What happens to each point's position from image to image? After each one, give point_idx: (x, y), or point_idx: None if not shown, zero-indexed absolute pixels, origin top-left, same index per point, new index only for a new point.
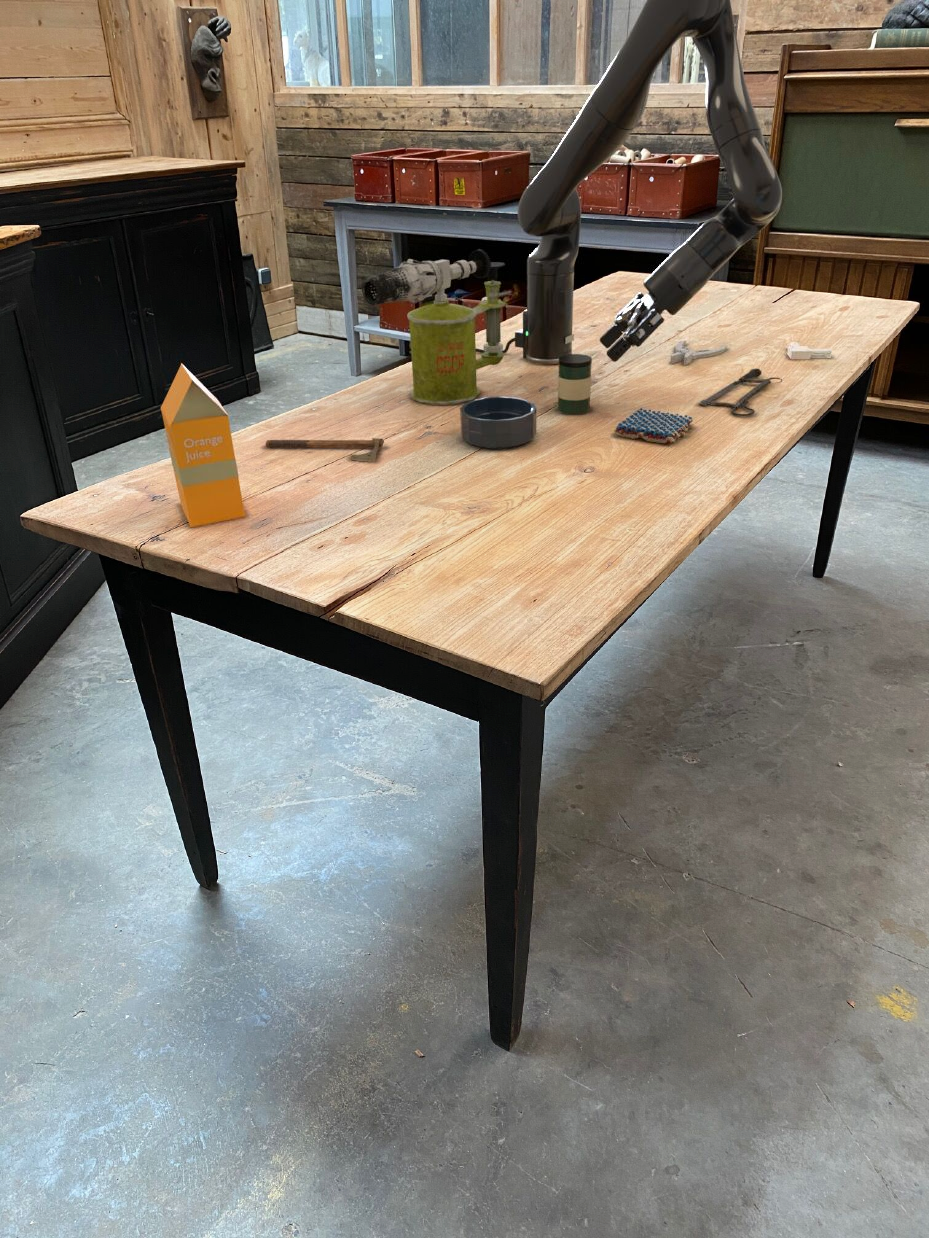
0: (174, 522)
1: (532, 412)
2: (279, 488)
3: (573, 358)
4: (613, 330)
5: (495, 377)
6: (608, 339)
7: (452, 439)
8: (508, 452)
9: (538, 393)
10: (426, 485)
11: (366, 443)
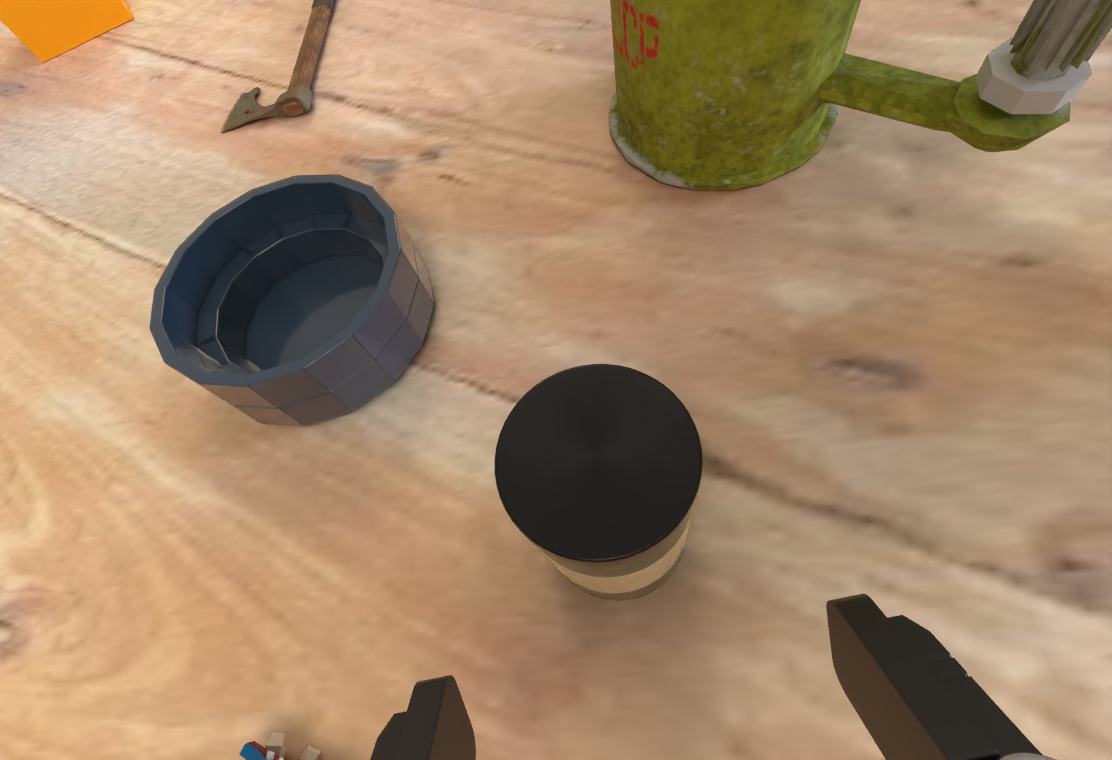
0: None
1: (204, 380)
2: (139, 56)
3: (593, 444)
4: (919, 741)
5: (971, 187)
6: (865, 681)
7: None
8: None
9: (807, 363)
10: (64, 251)
11: (289, 85)
